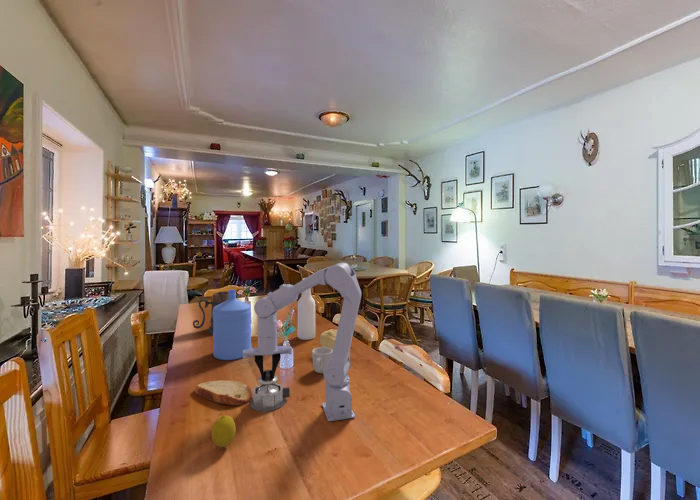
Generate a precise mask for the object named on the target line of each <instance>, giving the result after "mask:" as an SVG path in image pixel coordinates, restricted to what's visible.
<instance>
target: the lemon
mask: <svg viewBox="0 0 700 500" xmlns="http://www.w3.org/2000/svg"><path fill="white" fill-rule="evenodd" d="M236 427H237V426H236V423H235V421H234V418H232V416H230V415H226V414H225V415H224V414H223V415H221V416H219V417H217V419H216V420H215V421H214V422H213V425H212V427H211V438H212V442H213V443H214V445H216V446H217V447H222V448H226V447H227V446H228V445H229V444H231V443H232V442H233V440H234V438H235V436H236Z"/></svg>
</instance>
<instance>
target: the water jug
mask: <svg viewBox="0 0 700 500" xmlns="http://www.w3.org/2000/svg"><path fill="white" fill-rule="evenodd" d="M236 291H237V290H236V289H229V290H227V292H228V300H227V301H225V302H223V303H221V304H219V305H217V306H215V307H214V308H213V334H212V336H213V351H212V354H213V357H214V358H215V359H217V360H221V361H235V360H239V359H243V350H249V349H253V348H252V308H251V307H252V306H251V304H249V303H246V302H244V301H241V300H238V299H237V297H236V296H237V294H236Z"/></svg>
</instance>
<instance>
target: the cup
mask: <svg viewBox="0 0 700 500" xmlns="http://www.w3.org/2000/svg"><path fill="white" fill-rule="evenodd" d="M332 352H333V350H332V349H331V348H328V347H322V346H318V347H315V348H313V349H312V350H311V354H312V355H311V357H312V365H313V370H314V372H316V373H318V374H324V370H325V368H326V367H327V366H328V364H329V361H330V358H331V355H332Z"/></svg>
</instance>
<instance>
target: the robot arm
mask: <svg viewBox="0 0 700 500" xmlns="http://www.w3.org/2000/svg"><path fill="white" fill-rule="evenodd" d="M356 273H357V272H356V271H355V269H353V267H352V266H351V265H350V264H349V263H347V262H346V261H345V262H344V261H343V262H342V261H341V262H338V263H336V264H334V265H331V266H328V267H326V268H323V269H319V270H317V271H316V272H314V273H312V274H310V275H308V276H307V277H304V278H305V279H304V280H300V281H299V282H297V283H296V284H294V285H293V284H290V283H289V284H285V283H283V284H281V285H279V288H278V289H276V290H274V291H273V292H272V291H270V292H268V293H267V295H266V296H264V297H260V298H259V299H258V300H257V301H255V303H254V306H253V310H254V314H256V316H257V347H254V348H252V349H249V350H243V358H242V359H247V358H254V362H255V364H256V366H257V368H258V370H259V373H260V377H261V378H262V380H264V371H265V369H264V357H265V356H271V370H272V379H274V375H276V370H277V368H278V365H279V363H280V361H281V355H286V354H287V355H292V351H293V350H292V346H291V345H287V346H286V345H278V327H277V326H278V319H277V318H278V315H277V313H278V311H281V310H282V309H284V308H286V307H288V306H290V305H292V304H293V303H295V302H297V301H298V298H299V295H300V294H302V292H304V291H306V290H308V289H310V288H313V287H315V286H317V285H322V286H326V285H329V286H330V287H332V288H333V289H334V290H336V291H337V292H338V293H339V294H340V296H341V297H342V298H343V301H342V306H341V313H340V316H339V321H338V325H337V329H336V330H337V334H336V339H335V344H334V349H333V352H332V355H331V358H330V361H329V364H328V366H327V367H326V368H325V370H324V373H322V375H323V379H324V381H325V396H324V397H325V401H324V402H323V403H322V404H321V405H322V408H323V412H324V413H325V416H326V420H327V422H334V421H340V420H342V421H343V420H347V419H355V417H356V414H355V413H354V410H353V403H352V402H353V397H352V393H351V391H350V383H351V382H350V380H351V378H350V376H349V373H348V372H349V370H350V369H351V365H352V363H351V359H350V356H351V345H352V342H353V341H352V340H353V338H354V331H355V327H356V322H357V318H358V313H359V308H360V303H361V299H362V289H361V288H360V285H359V281H358V278H357V274H356Z"/></svg>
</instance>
